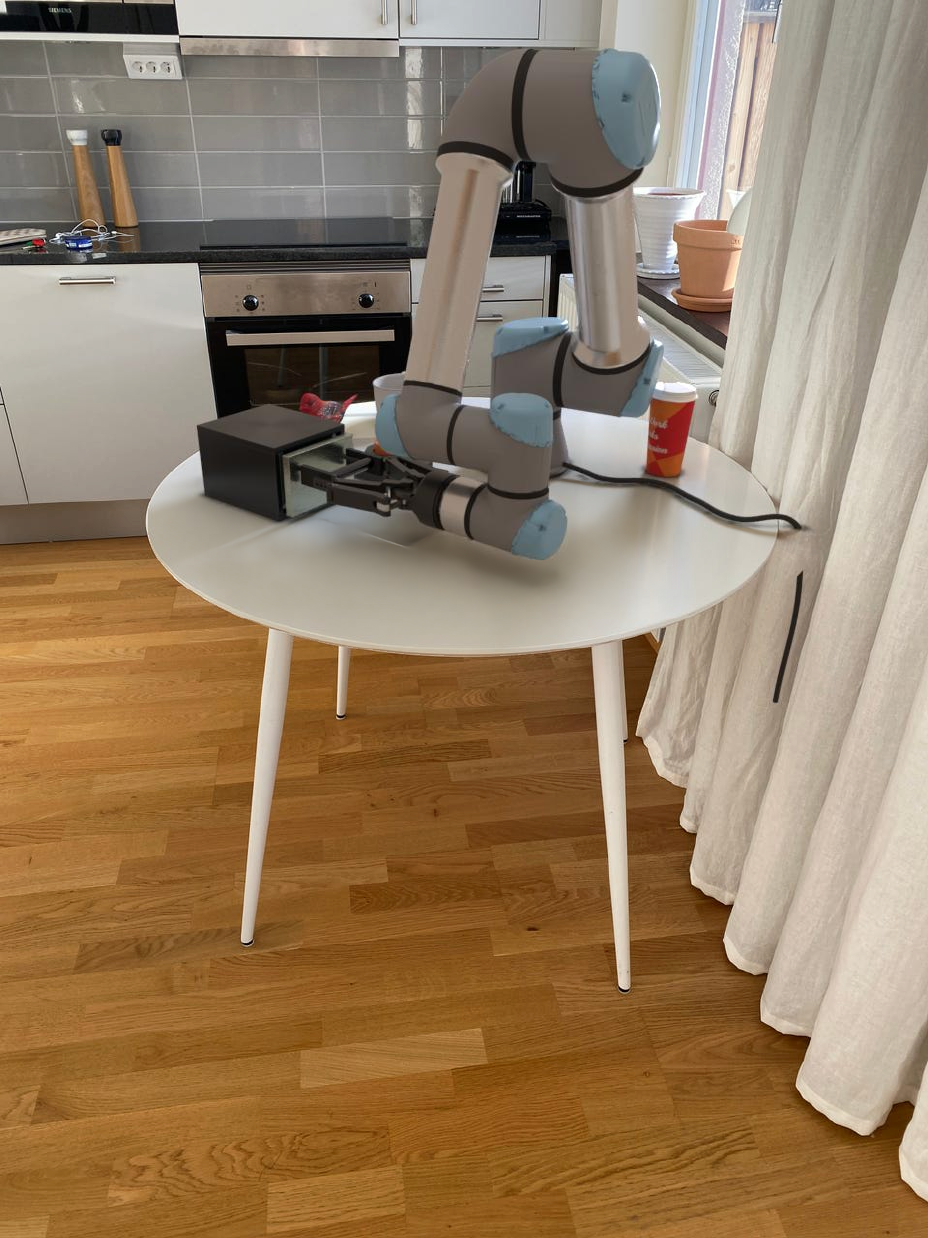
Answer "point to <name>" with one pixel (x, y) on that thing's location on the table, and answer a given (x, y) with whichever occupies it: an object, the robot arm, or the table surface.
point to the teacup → (387, 387)
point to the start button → (379, 449)
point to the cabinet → (255, 454)
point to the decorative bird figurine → (324, 407)
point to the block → (380, 478)
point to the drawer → (322, 456)
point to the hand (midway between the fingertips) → (325, 465)
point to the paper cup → (669, 427)
